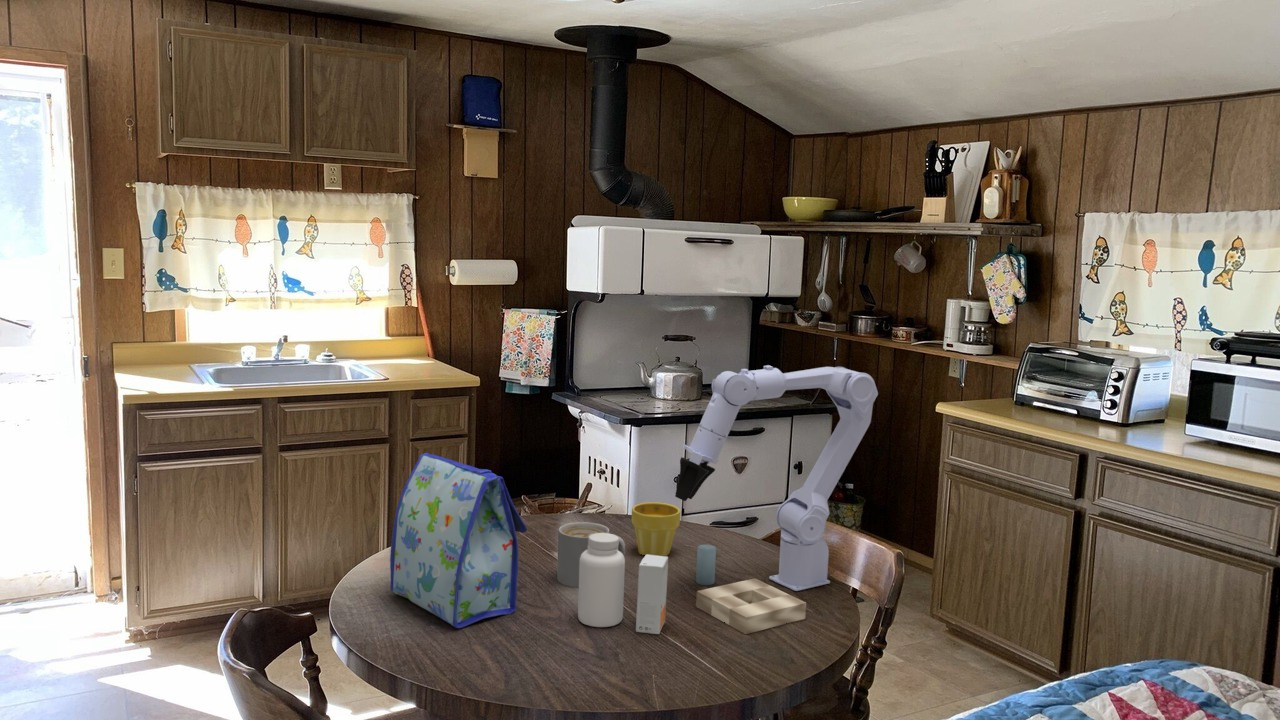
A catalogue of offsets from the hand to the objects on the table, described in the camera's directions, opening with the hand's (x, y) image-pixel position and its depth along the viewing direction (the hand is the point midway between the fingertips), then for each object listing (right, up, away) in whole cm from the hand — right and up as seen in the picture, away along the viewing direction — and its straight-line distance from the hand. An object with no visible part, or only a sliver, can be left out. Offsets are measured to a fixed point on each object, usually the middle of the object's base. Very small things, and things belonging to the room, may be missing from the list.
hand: (683, 498), depth 180 cm
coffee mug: (-18, -17, +8) cm, 26 cm away
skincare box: (-6, -21, -14) cm, 26 cm away
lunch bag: (-42, -18, -7) cm, 46 cm away
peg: (+5, -18, +9) cm, 20 cm away
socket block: (+12, -20, -6) cm, 24 cm away
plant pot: (-5, -16, +25) cm, 30 cm away
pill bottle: (-15, -20, -12) cm, 28 cm away
